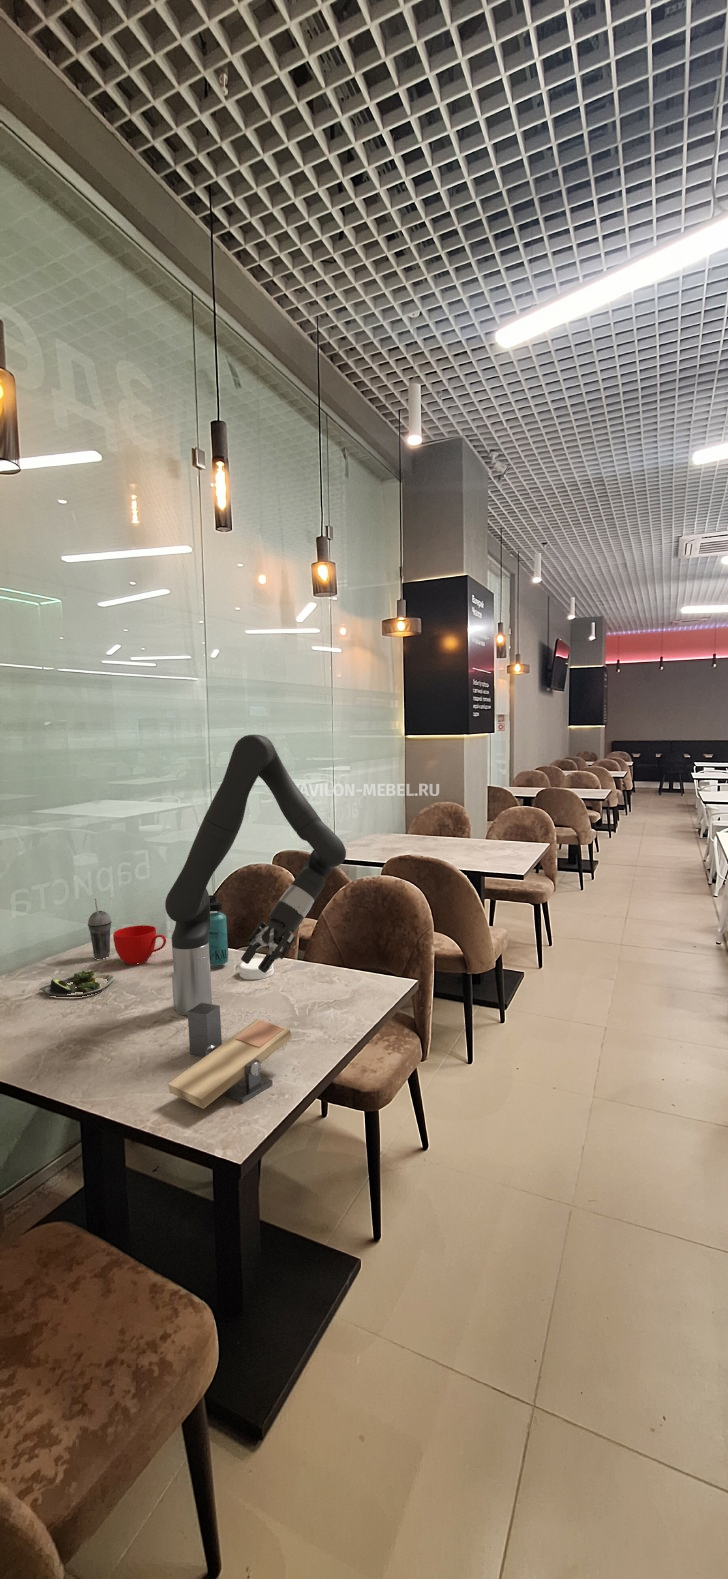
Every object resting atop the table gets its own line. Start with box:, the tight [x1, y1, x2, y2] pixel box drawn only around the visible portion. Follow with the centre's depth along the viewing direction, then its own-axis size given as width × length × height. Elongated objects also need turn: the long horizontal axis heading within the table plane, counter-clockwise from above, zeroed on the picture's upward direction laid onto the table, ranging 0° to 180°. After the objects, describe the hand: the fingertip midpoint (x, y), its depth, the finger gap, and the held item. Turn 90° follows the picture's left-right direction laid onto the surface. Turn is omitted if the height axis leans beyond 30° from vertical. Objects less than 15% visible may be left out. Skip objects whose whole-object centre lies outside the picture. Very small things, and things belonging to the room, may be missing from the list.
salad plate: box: [38, 969, 115, 997], centre depth 193 cm, size 19×18×5 cm
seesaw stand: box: [206, 1044, 273, 1104], centre depth 135 cm, size 14×8×6 cm, turn 53°
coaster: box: [239, 957, 275, 981], centre depth 198 cm, size 10×10×4 cm
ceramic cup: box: [112, 924, 167, 965], centre depth 213 cm, size 13×17×10 cm
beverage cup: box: [87, 898, 112, 959], centre depth 217 cm, size 7×7×20 cm
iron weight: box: [187, 1003, 223, 1059], centre depth 149 cm, size 5×5×10 cm
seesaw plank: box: [167, 1018, 292, 1110], centre depth 134 cm, size 10×24×2 cm, turn 143°
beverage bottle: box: [209, 901, 229, 966], centre depth 205 cm, size 6×7×20 cm
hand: (252, 966), depth 155 cm, fingers open, 8 cm apart
